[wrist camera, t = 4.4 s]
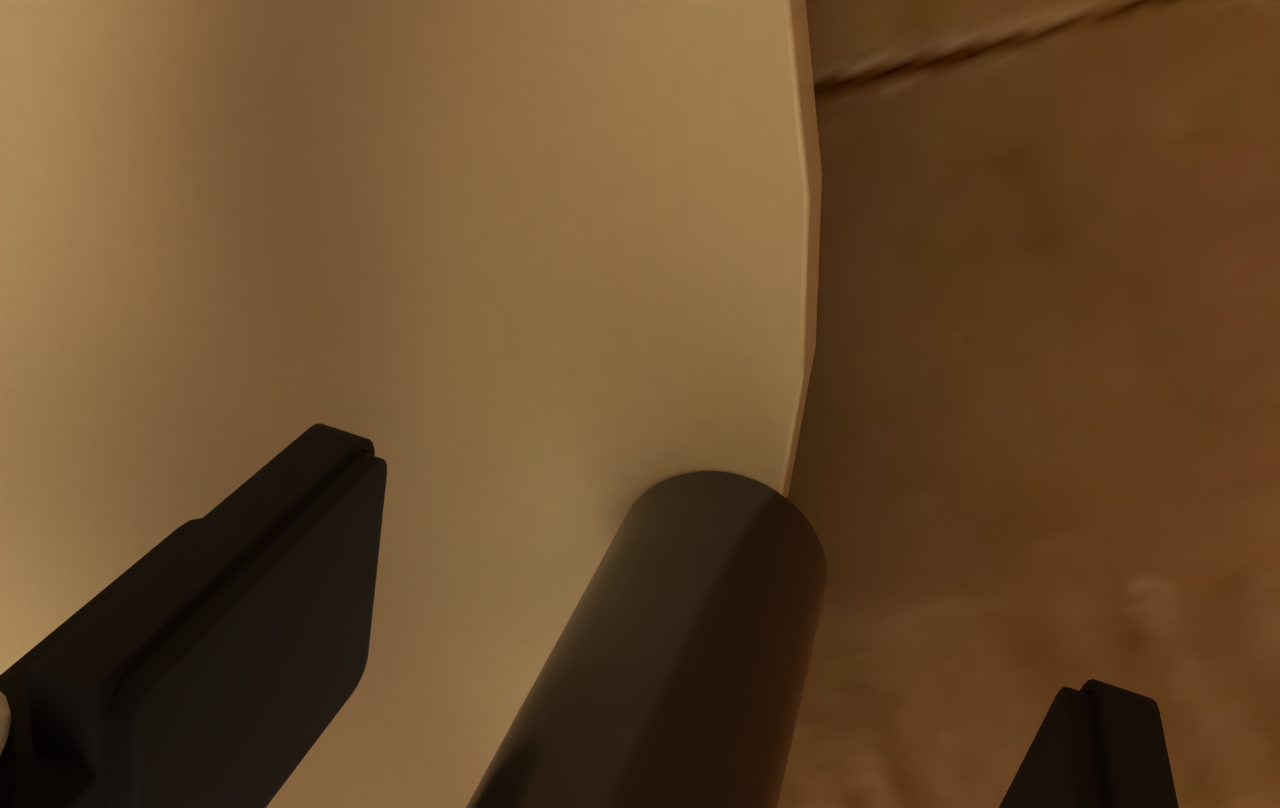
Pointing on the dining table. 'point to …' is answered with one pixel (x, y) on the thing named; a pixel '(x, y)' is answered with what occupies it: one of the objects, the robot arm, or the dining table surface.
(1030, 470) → the dining table surface
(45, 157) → the dish rack
